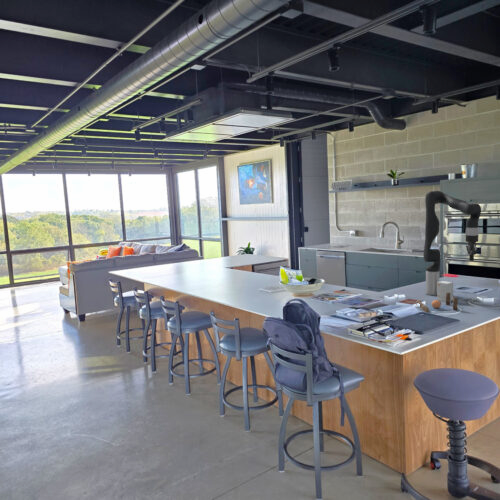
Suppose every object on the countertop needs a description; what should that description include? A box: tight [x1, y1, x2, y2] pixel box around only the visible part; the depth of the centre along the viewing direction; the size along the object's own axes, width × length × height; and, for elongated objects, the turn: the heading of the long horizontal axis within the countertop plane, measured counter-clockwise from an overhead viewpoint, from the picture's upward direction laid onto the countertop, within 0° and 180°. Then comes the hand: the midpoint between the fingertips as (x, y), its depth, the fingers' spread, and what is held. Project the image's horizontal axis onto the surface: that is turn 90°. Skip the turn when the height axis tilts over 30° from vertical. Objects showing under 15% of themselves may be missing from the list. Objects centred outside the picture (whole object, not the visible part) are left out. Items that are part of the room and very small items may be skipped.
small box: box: [436, 280, 454, 303], centre depth 296 cm, size 8×6×13 cm
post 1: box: [445, 293, 451, 306], centre depth 286 cm, size 3×3×8 cm
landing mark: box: [424, 304, 452, 312], centre depth 281 cm, size 13×13×1 cm
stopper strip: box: [415, 300, 430, 313], centre depth 282 cm, size 20×2×2 cm, turn 175°
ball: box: [431, 299, 442, 308], centre depth 279 cm, size 6×6×6 cm
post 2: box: [452, 296, 459, 311], centre depth 273 cm, size 3×3×8 cm
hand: (471, 260), depth 282 cm, fingers closed
